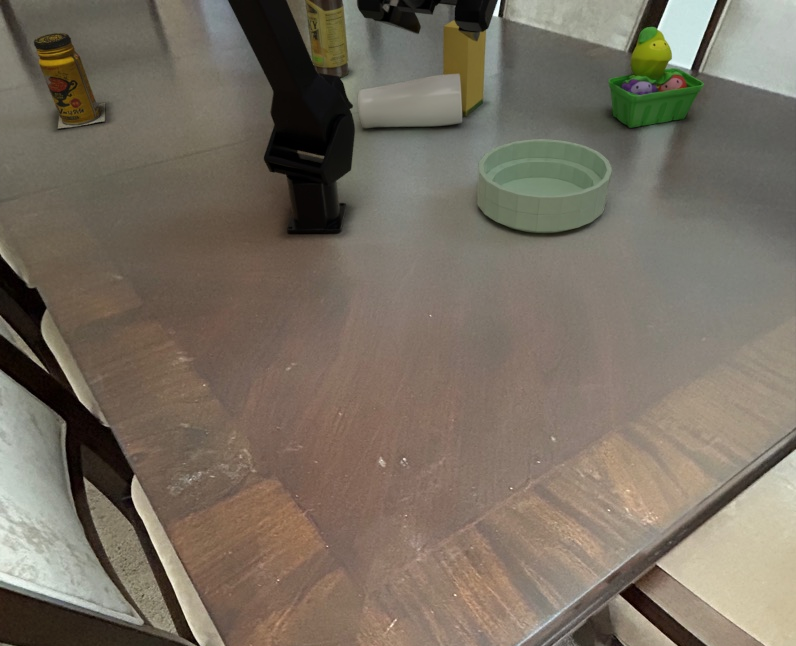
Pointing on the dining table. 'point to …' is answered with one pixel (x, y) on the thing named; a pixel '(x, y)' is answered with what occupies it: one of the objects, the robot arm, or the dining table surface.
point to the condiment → (67, 81)
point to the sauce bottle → (328, 36)
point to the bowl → (543, 185)
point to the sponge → (465, 64)
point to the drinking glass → (412, 103)
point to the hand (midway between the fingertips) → (447, 34)
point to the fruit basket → (652, 85)
